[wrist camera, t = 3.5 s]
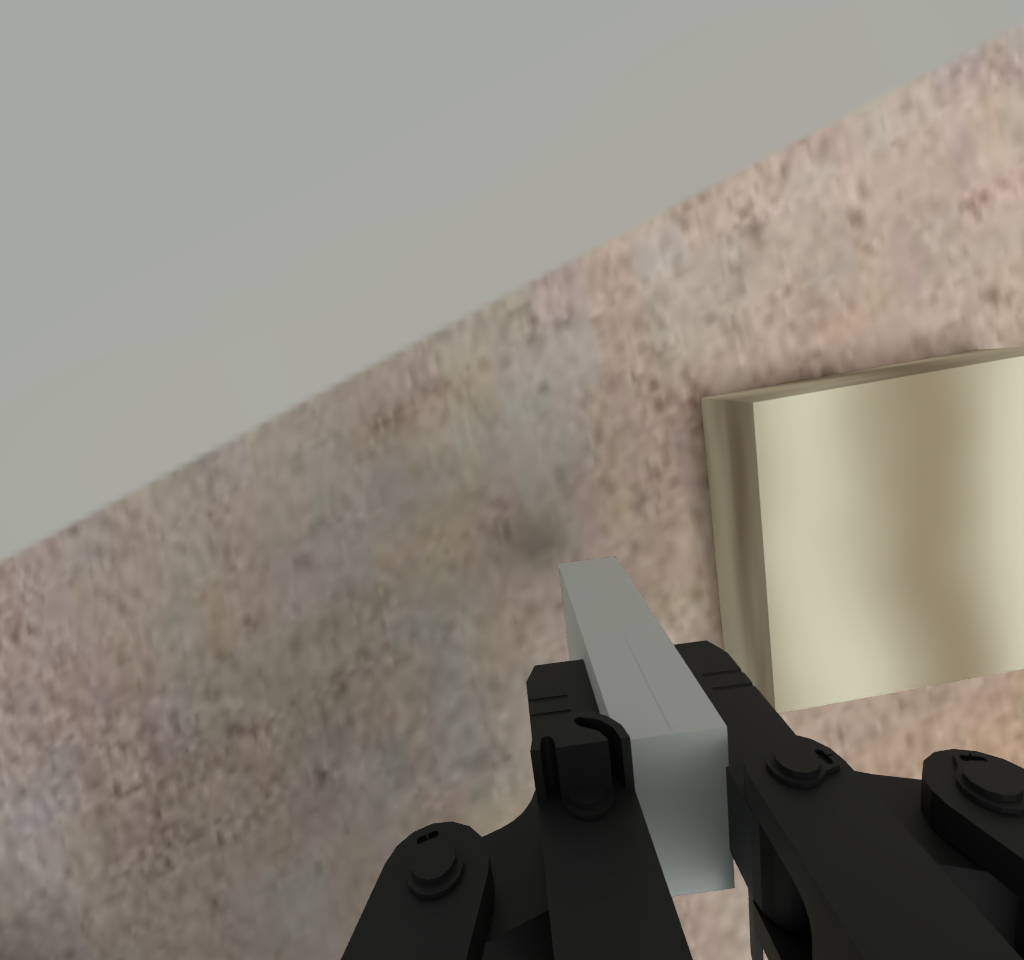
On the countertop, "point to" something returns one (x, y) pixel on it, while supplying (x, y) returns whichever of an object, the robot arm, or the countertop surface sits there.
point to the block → (871, 527)
